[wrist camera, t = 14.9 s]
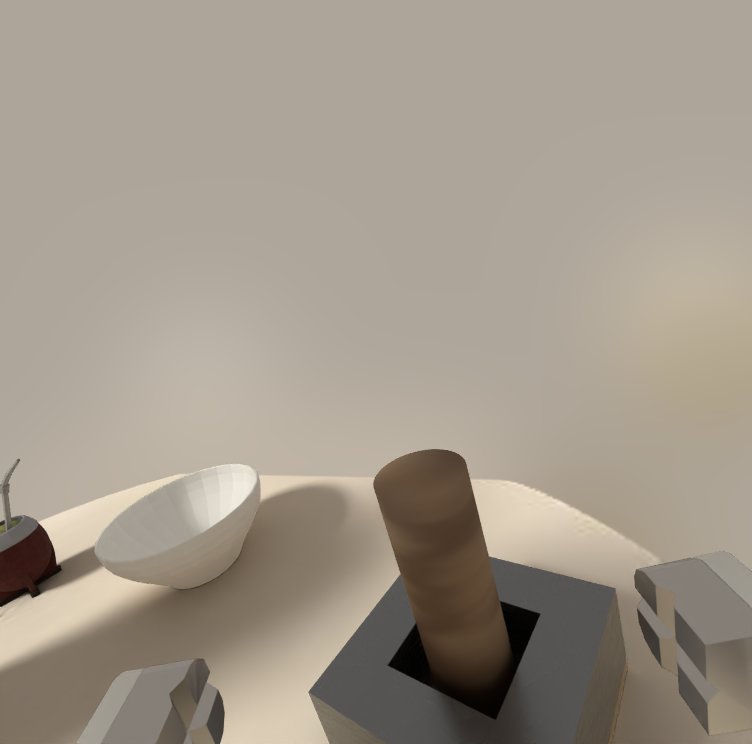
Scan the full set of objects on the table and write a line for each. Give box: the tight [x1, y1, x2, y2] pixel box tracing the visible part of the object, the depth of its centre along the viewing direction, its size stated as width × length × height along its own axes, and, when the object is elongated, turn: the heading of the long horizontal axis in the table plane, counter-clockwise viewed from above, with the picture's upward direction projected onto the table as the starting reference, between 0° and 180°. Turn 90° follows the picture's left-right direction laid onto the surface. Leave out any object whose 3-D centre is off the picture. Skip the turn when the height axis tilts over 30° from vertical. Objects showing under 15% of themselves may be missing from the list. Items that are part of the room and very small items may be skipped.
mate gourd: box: [0, 459, 62, 607], centre depth 49 cm, size 8×8×15 cm
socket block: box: [308, 557, 628, 744], centre depth 24 cm, size 12×12×6 cm
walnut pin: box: [373, 449, 517, 720], centre depth 22 cm, size 4×4×15 cm
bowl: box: [94, 464, 260, 589], centre depth 45 cm, size 16×16×7 cm
